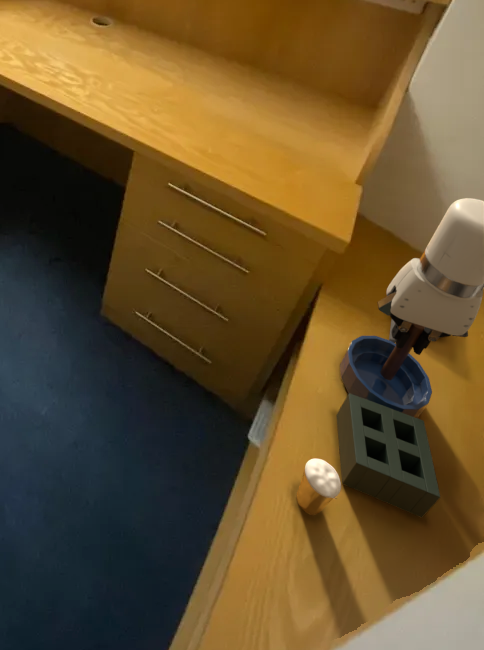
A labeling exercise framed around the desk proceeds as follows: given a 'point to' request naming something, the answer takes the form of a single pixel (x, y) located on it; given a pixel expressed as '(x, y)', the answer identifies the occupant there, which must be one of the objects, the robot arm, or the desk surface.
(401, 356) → the stick
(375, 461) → the holder
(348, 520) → the desk surface
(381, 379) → the bowl
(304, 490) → the beer glass
